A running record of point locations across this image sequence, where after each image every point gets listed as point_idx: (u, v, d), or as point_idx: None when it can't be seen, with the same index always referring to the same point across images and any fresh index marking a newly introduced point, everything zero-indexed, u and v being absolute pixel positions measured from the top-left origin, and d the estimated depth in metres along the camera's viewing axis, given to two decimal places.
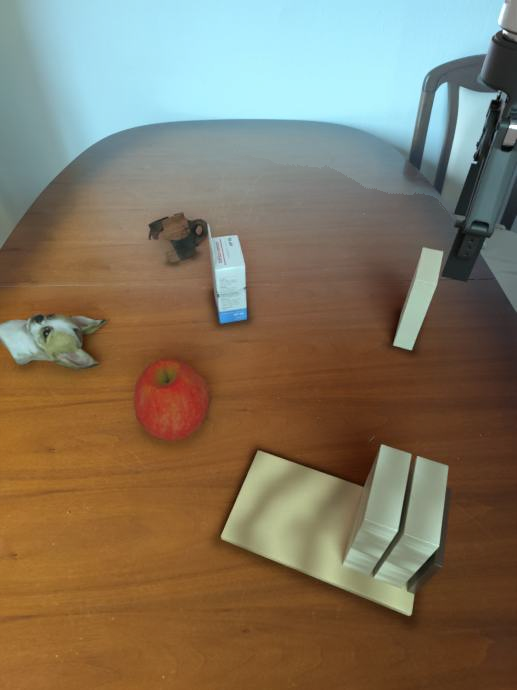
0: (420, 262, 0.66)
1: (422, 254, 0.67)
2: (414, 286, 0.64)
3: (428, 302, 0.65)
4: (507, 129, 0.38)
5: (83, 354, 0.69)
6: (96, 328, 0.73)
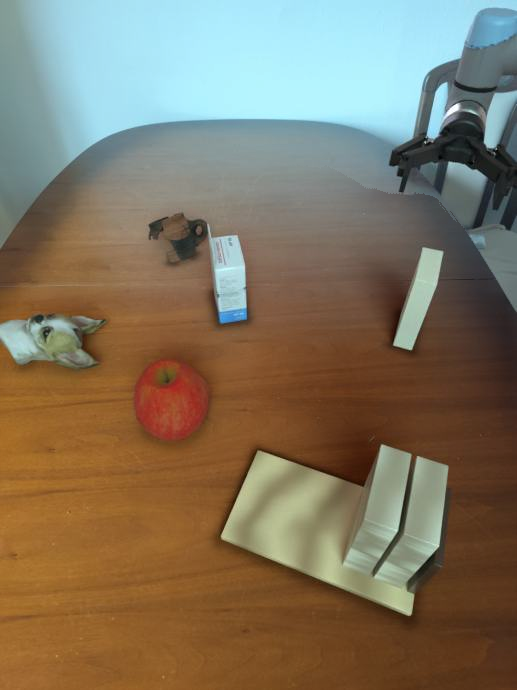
0: (420, 262, 0.66)
1: (422, 254, 0.67)
2: (414, 286, 0.64)
3: (428, 302, 0.65)
4: None
5: (83, 354, 0.69)
6: (96, 328, 0.73)
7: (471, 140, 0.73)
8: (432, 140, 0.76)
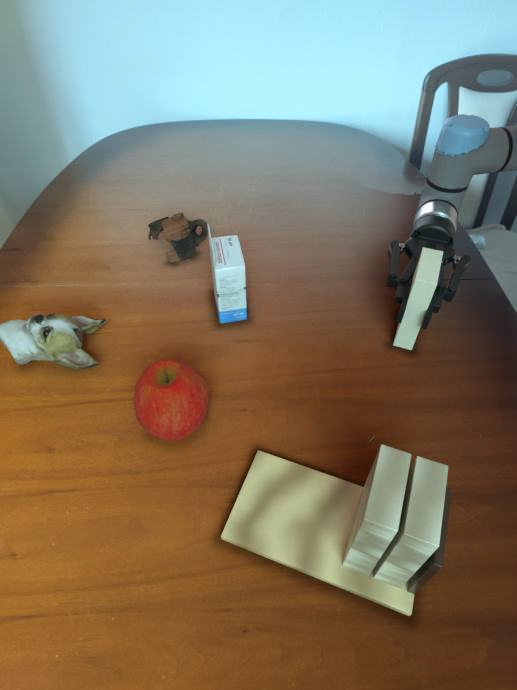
0: (420, 262, 0.66)
1: (422, 254, 0.67)
2: (414, 286, 0.64)
3: (428, 302, 0.65)
4: (388, 250, 0.78)
5: (83, 354, 0.69)
6: (96, 328, 0.73)
7: (440, 247, 0.75)
8: (403, 243, 0.78)
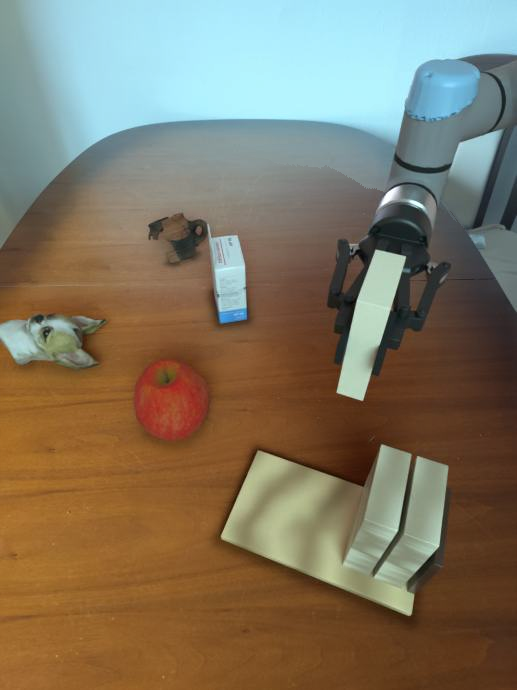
0: (368, 273, 0.42)
1: (373, 260, 0.44)
2: (356, 311, 0.41)
3: (380, 335, 0.42)
4: (336, 253, 0.55)
5: (83, 354, 0.69)
6: (96, 328, 0.73)
7: (407, 250, 0.51)
8: None
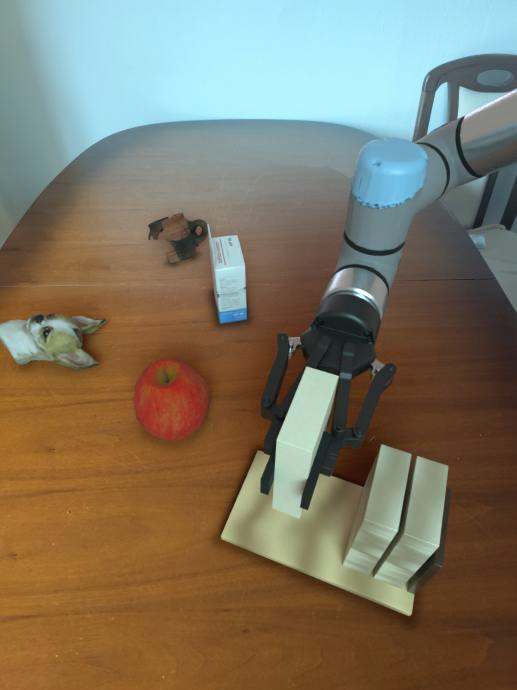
0: (294, 400, 0.38)
1: (301, 382, 0.39)
2: (278, 448, 0.37)
3: (306, 471, 0.38)
4: None
5: (83, 354, 0.69)
6: (96, 328, 0.73)
7: (350, 350, 0.47)
8: None
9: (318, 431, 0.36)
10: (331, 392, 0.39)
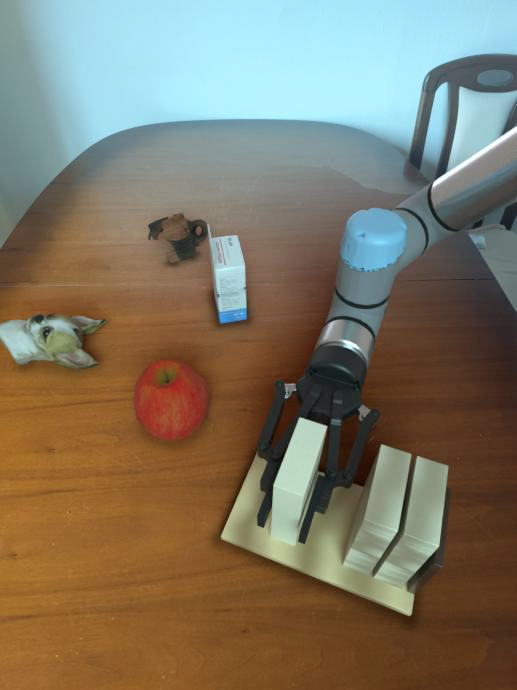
0: (289, 449, 0.45)
1: (295, 432, 0.46)
2: (275, 491, 0.43)
3: (299, 510, 0.44)
4: None
5: (83, 354, 0.69)
6: (96, 328, 0.73)
7: (338, 398, 0.54)
8: None
9: (309, 477, 0.43)
10: (320, 441, 0.45)
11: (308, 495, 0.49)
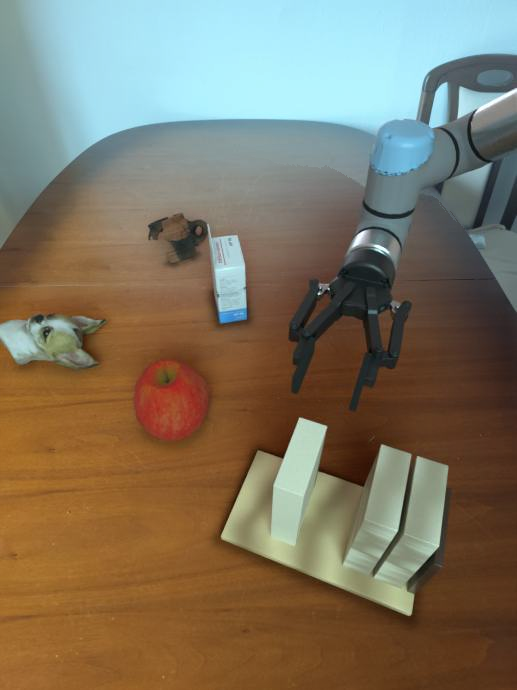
0: (289, 449, 0.45)
1: (295, 432, 0.46)
2: (275, 491, 0.43)
3: (299, 510, 0.44)
4: None
5: (83, 354, 0.69)
6: (96, 328, 0.73)
7: (371, 292, 0.57)
8: (327, 284, 0.61)
9: (309, 477, 0.43)
10: (320, 441, 0.45)
11: (308, 495, 0.49)
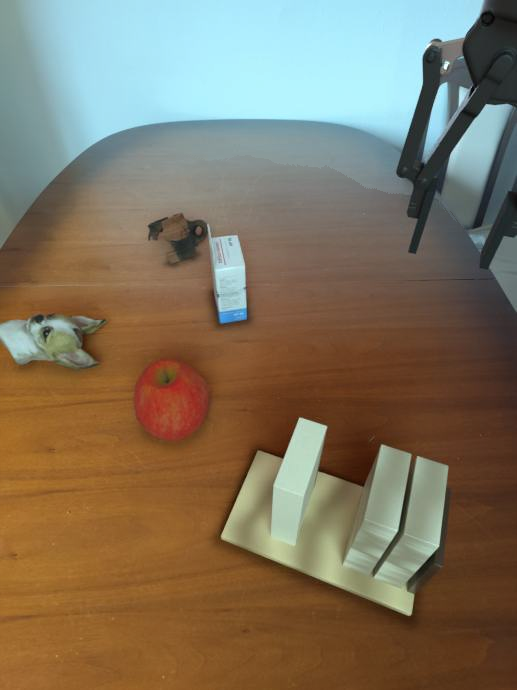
0: (289, 449, 0.45)
1: (295, 432, 0.46)
2: (275, 491, 0.43)
3: (299, 510, 0.44)
4: None
5: (83, 354, 0.69)
6: (96, 328, 0.73)
7: None
8: (460, 43, 0.32)
9: (309, 477, 0.43)
10: (320, 441, 0.45)
11: (308, 495, 0.49)
